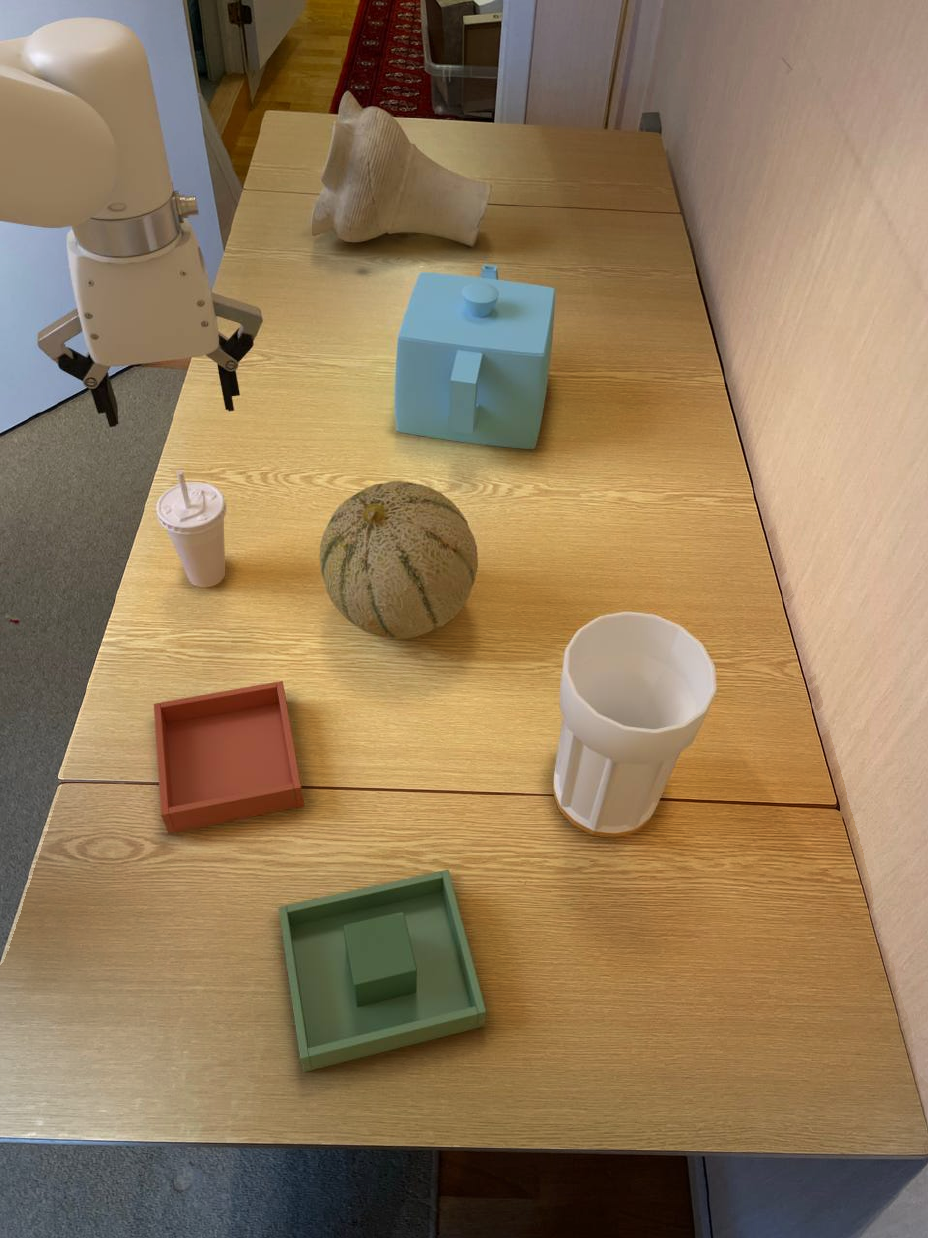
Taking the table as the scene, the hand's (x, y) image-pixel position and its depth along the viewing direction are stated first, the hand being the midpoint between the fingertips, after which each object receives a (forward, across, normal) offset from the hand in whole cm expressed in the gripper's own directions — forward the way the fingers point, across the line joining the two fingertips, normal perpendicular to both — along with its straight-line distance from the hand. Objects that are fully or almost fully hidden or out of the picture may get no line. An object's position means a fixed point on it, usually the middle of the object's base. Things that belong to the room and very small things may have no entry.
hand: (171, 408), depth 84 cm
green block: (+20, -9, +44) cm, 49 cm away
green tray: (+20, -8, +44) cm, 50 cm away
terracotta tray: (+20, 0, +23) cm, 31 cm away
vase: (+22, -34, -60) cm, 72 cm away
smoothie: (+21, 0, 0) cm, 21 cm away
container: (+21, -34, -22) cm, 45 cm away
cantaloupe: (+21, -18, +9) cm, 29 cm away
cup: (+21, -30, +33) cm, 50 cm away
